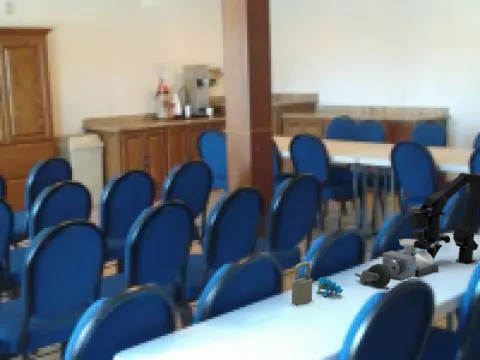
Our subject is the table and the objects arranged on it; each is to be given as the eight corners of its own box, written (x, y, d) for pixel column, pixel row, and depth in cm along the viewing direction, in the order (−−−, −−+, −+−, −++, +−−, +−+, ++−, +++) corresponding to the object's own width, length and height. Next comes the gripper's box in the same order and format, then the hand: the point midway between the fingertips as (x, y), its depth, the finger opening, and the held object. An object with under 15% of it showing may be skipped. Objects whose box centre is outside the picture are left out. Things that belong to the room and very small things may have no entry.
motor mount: (409, 263, 299) (410, 243, 297) (438, 272, 288) (440, 251, 286) (376, 274, 284) (377, 253, 283) (405, 283, 273) (406, 261, 272)
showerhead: (396, 236, 316) (418, 236, 316) (395, 251, 317) (417, 252, 317) (400, 242, 307) (423, 242, 306) (400, 257, 308) (422, 258, 308)
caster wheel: (391, 289, 269) (358, 277, 278) (394, 266, 266) (361, 255, 276) (383, 293, 265) (351, 281, 274) (387, 269, 262) (353, 258, 272)
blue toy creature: (348, 292, 258) (333, 277, 253) (341, 305, 255) (326, 290, 251) (327, 288, 266) (313, 273, 262) (320, 301, 264) (305, 286, 259)
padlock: (290, 302, 251) (290, 263, 248) (305, 297, 256) (306, 259, 253) (298, 305, 248) (298, 265, 245) (313, 300, 253) (314, 261, 250)
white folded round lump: (427, 272, 287) (428, 254, 286) (410, 268, 292) (411, 251, 291) (435, 267, 294) (436, 250, 292) (418, 264, 298) (419, 247, 297)
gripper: (429, 218, 305) (428, 252, 308) (403, 225, 293) (402, 260, 296) (451, 223, 297) (449, 258, 300) (426, 230, 285) (424, 267, 288)
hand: (431, 260), depth 296 cm, fingers closed
